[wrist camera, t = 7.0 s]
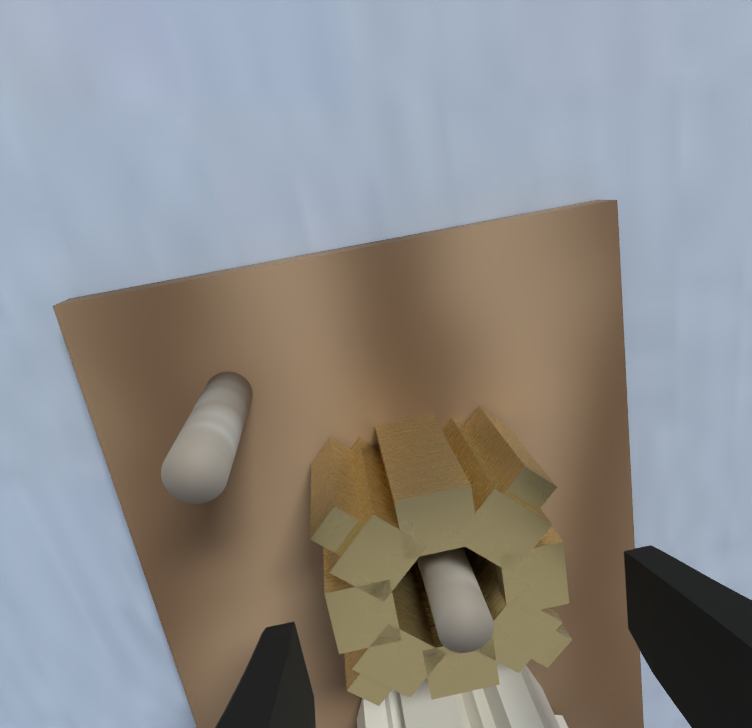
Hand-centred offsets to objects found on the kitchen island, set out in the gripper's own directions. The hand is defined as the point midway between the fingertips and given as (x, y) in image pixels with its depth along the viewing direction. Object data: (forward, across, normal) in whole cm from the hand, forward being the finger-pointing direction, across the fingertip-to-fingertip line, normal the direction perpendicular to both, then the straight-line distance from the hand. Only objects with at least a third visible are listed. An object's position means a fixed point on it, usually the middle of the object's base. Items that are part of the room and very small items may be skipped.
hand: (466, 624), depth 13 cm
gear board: (+5, +1, +3) cm, 6 cm away
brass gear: (+4, 0, 0) cm, 4 cm away
